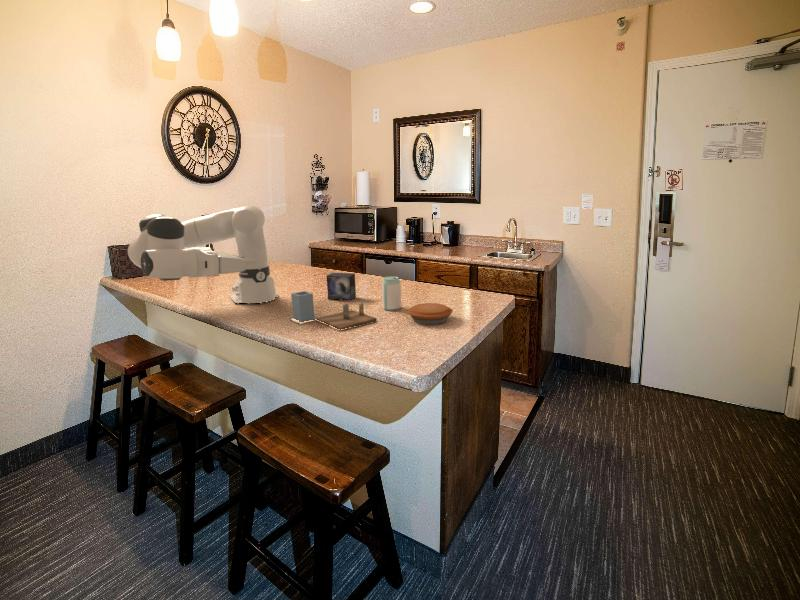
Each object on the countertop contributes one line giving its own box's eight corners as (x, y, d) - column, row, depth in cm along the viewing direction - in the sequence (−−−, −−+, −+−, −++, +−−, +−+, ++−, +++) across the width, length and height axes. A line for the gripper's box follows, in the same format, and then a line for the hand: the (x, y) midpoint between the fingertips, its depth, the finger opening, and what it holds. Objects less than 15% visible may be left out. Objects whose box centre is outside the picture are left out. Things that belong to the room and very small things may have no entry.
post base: (316, 321, 158) (315, 304, 156) (352, 313, 167) (351, 296, 166) (340, 331, 147) (338, 312, 145) (376, 321, 156) (376, 304, 155)
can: (390, 305, 177) (389, 275, 174) (404, 307, 173) (404, 277, 170) (378, 309, 172) (377, 278, 169) (392, 312, 167) (392, 280, 164)
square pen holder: (289, 320, 160) (287, 293, 158) (308, 316, 165) (306, 290, 162) (299, 324, 155) (297, 297, 152) (318, 320, 159) (316, 293, 157)
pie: (449, 313, 164) (449, 300, 163) (455, 326, 149) (455, 311, 148) (406, 314, 164) (406, 301, 163) (409, 328, 149) (408, 313, 148)
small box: (327, 300, 188) (325, 275, 185) (333, 296, 194) (332, 272, 191) (350, 301, 185) (349, 276, 182) (356, 297, 191) (355, 273, 188)
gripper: (194, 268, 143) (238, 266, 152) (215, 277, 128) (262, 274, 137) (193, 248, 142) (237, 247, 151) (214, 255, 127) (262, 254, 135)
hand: (249, 260), depth 144 cm, fingers open, 8 cm apart
